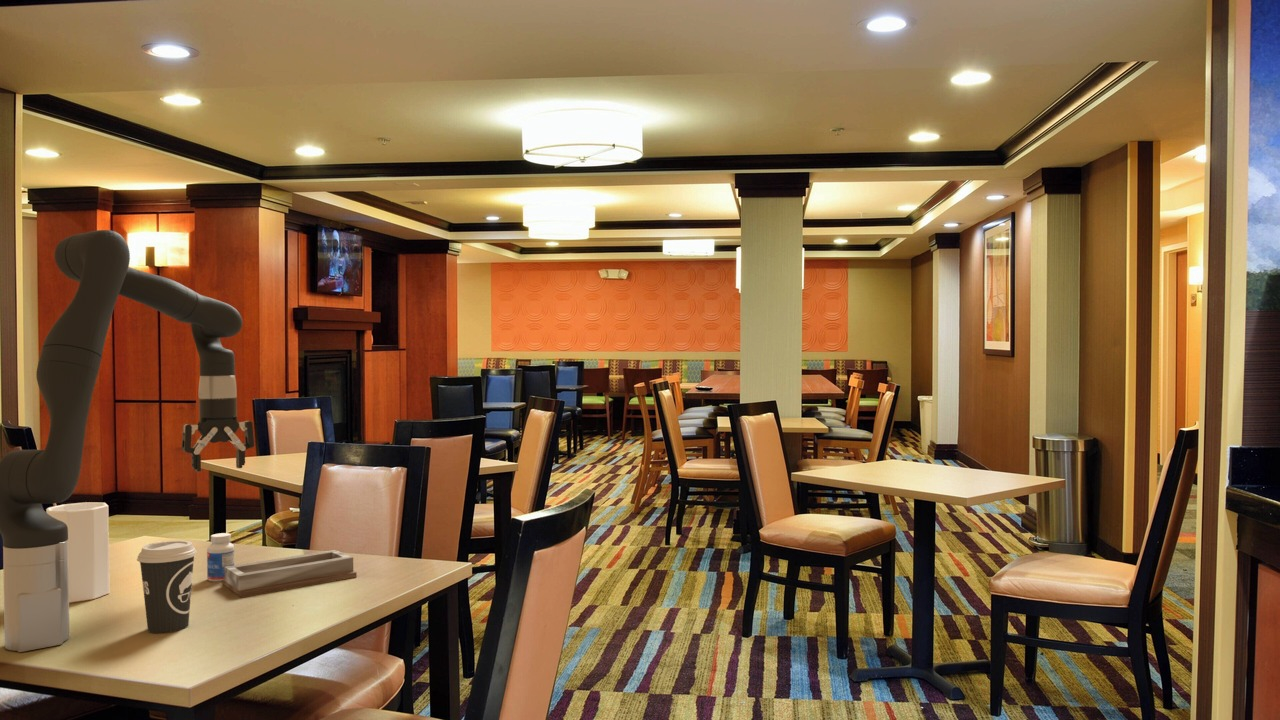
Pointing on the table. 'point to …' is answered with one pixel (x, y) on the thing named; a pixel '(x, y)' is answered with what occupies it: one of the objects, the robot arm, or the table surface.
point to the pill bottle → (219, 556)
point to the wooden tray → (288, 573)
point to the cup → (86, 548)
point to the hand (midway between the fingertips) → (218, 469)
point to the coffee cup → (167, 584)
